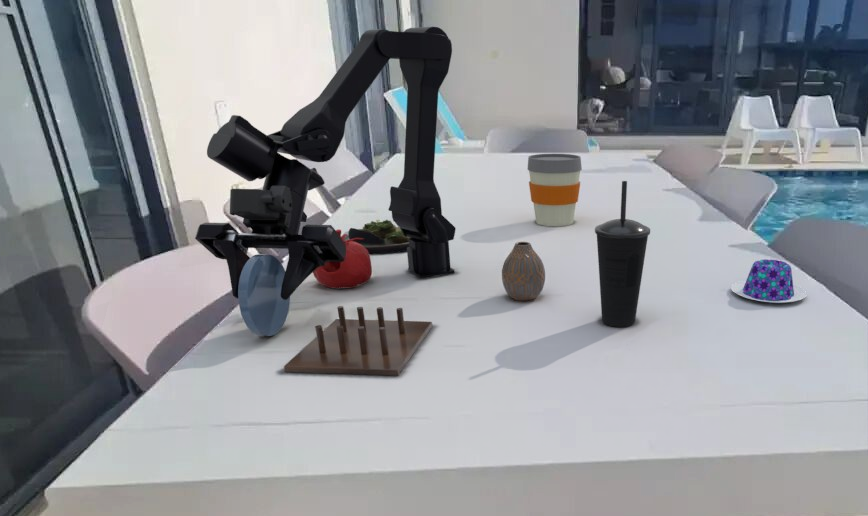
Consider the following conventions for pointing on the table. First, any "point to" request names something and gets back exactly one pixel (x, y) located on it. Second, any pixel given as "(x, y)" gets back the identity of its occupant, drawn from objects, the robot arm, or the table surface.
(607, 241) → the drinking cup
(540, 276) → the vase
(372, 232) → the salad plate
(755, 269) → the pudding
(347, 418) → the table surface
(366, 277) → the pomegranate
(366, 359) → the rack
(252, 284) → the plate
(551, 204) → the reusable coffee cup
